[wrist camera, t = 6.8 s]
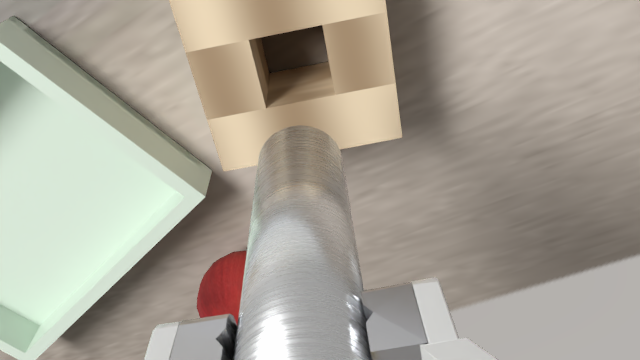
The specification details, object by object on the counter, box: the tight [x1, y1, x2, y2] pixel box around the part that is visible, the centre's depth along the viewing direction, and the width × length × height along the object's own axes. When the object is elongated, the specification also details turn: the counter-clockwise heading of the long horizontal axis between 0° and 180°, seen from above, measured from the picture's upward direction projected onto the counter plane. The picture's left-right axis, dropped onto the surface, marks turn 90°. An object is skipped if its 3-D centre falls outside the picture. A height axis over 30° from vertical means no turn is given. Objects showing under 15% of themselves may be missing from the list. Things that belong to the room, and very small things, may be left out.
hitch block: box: [169, 0, 402, 171], centre depth 27 cm, size 9×9×5 cm
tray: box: [0, 16, 212, 360], centre depth 32 cm, size 18×13×3 cm
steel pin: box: [233, 125, 372, 360], centre depth 13 cm, size 3×3×10 cm
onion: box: [197, 251, 247, 324], centre depth 33 cm, size 6×6×8 cm
